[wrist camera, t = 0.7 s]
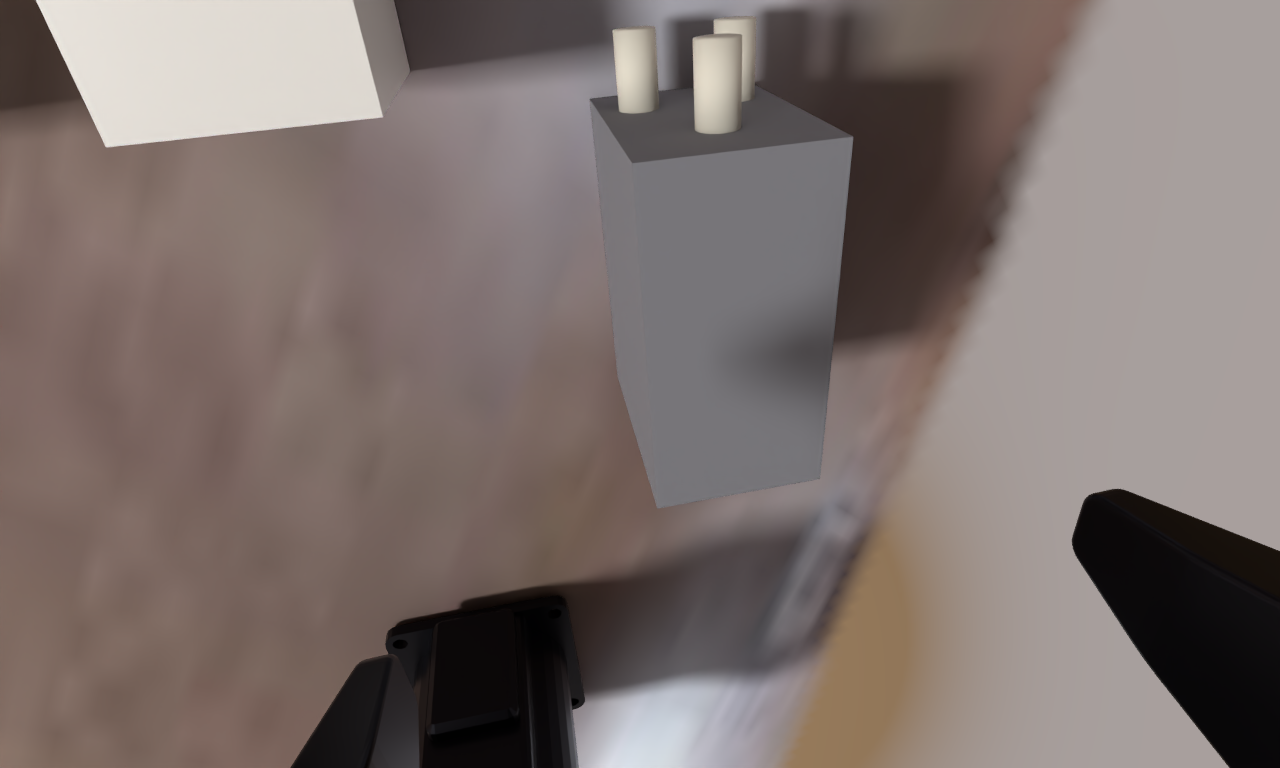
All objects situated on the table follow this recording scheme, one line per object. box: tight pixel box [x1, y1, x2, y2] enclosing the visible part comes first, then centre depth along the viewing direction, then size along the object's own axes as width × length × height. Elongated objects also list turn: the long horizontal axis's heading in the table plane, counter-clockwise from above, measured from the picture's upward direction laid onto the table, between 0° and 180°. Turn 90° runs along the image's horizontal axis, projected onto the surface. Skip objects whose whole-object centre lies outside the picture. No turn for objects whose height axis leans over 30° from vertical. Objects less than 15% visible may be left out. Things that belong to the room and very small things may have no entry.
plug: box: [590, 16, 853, 508], centre depth 16 cm, size 10×4×6 cm, turn 4°
